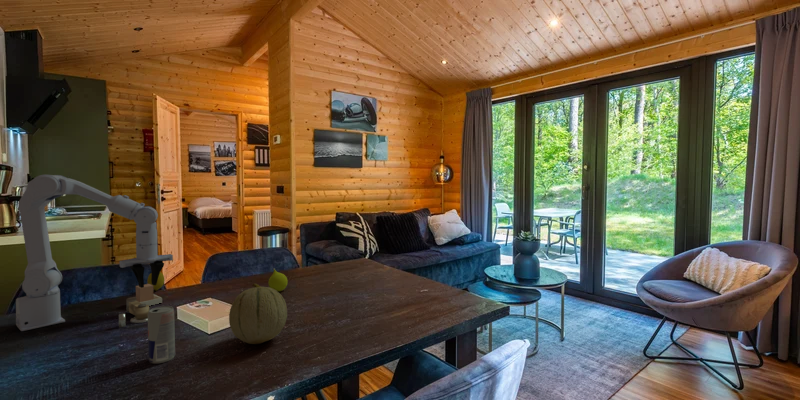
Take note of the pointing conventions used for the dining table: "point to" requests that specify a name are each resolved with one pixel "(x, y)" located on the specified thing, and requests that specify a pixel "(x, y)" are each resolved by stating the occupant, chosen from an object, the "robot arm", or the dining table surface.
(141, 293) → the block
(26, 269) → the robot arm
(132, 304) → the crank arm
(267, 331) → the cantaloupe
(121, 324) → the crank base
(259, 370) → the dining table surface
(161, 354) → the energy drink
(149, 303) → the tray
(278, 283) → the green fig
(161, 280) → the lemon
